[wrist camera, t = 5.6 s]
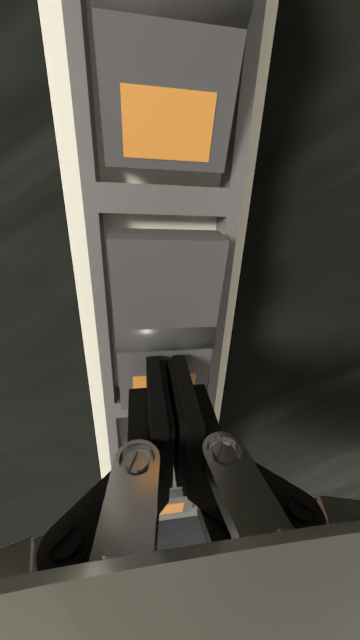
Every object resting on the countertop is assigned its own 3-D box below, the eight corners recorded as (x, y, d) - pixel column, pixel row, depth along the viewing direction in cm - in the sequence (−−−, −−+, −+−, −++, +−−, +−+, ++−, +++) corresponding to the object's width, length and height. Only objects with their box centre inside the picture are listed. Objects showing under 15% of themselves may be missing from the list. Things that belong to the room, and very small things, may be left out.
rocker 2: (217, 228, 10) (231, 243, 9) (197, 379, 15) (205, 406, 13) (109, 226, 10) (105, 241, 8) (122, 384, 14) (121, 413, 12)
